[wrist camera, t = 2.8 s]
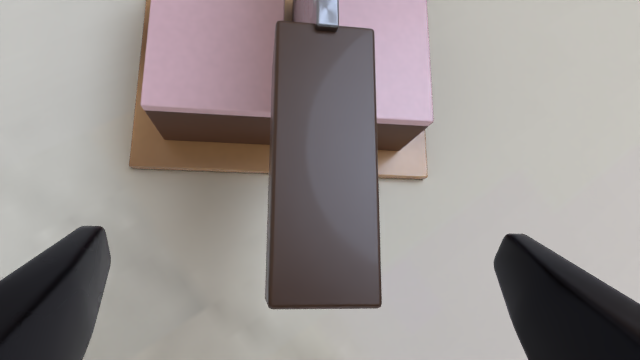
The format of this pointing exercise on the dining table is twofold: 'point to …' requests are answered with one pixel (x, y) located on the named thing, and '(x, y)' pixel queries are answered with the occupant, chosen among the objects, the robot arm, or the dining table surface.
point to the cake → (256, 68)
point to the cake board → (236, 156)
